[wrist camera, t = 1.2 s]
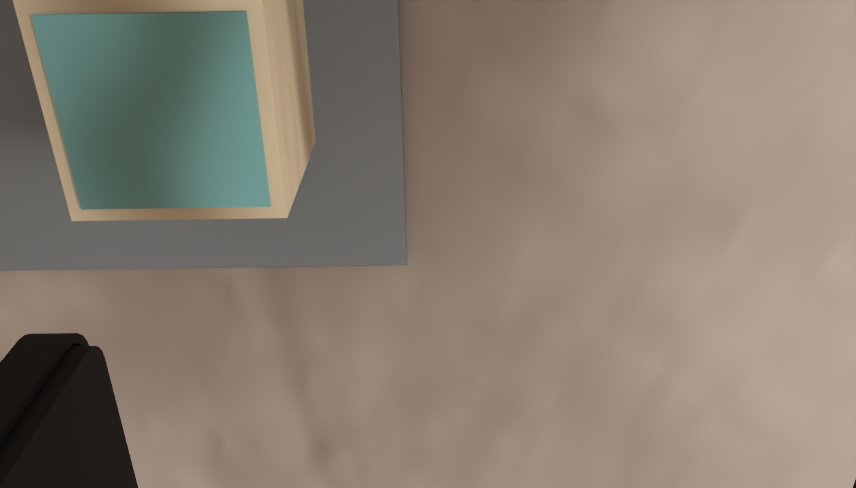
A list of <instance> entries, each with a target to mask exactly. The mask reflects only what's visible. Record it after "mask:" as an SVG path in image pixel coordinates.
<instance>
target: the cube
mask: <svg viewBox="0 0 856 488" xmlns="http://www.w3.org/2000/svg"><path fill="white" fill-rule="evenodd" d="M13 3H14V7H15V11H16V15H17V18H18V22H19V26H20V30H21V33H22V37H23V41H24V45H25V48H26V52H27V56H28V60H29V63H30V67H31V71H32V75H33V78H34V82H35V86H36V90H37V93H38V97H39V101H40V104H41V108H42V112H43V116H44V119H45V123H46V127H47V131H48V134H49V138H50V142H51V146H52V149H53V153H54V157H55V161H56V164H57V168H58V172H59V176H60V179H61V183H62V187H63V191H64V194H65V198H66V202H67V205H68V209H69V213H70V217H71V220H72V221H115V220H186V219H257V218H287V217H288V215H289V212H290V209H291V207H292V204H293V201H294V199H295V196H296V193H297V191H298V188H299V185H300V183H301V180H302V177H303V175H304V172H305V169H306V166H307V164H308V161H309V158H310V156H311V153H312V150H313V148H314V145H315V142H316V137H315V126H314V115H313V104H312V93H311V82H310V71H309V61H308V50H307V39H306V28H305V17H304V6H303V0H13Z"/></svg>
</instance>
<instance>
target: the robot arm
mask: <svg viewBox="0 0 856 488" xmlns="http://www.w3.org/2000/svg"><path fill="white" fill-rule="evenodd" d="M0 488H138V485H137V482H136V478H135V474H134V470H133V466H132V462H131V458H130V454H129V450H128V447H127V443H126V439H125V435H124V431H123V427H122V423H121V419H120V415H119V411H118V408H117V404H116V400H115V396H114V392H113V388H112V384H111V380H110V376H109V372H108V369H107V365H106V361H105V357H104V354H103V352H102V350H101V349H100V348H99V347H97V346H89V345H88V342H87V340H86V339H85V338H84V336H83V335H80V334H78V333H62V334H28V335H24V336H23V337H22V338H21V339H19V340H18V341H17V343H16V344H15V345H14V346H13V348H12V349H11V350H10V351H9V352H8V354H7V355H6V356H5V357H4V359H3V360H2V361H1V362H0ZM853 488H856V480H855V483H854V486H853Z"/></svg>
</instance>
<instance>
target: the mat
mask: <svg viewBox="0 0 856 488" xmlns="http://www.w3.org/2000/svg"><path fill="white" fill-rule="evenodd" d="M303 6H304V17H305V28H306V39H307V50H308V61H309V71H310V82H311V93H312V104H313V115H314V126H315V137H316V142H315V145H314V148H313V150H312V153H311V156H310V158H309V161H308V164H307V166H306V169H305V172H304V175H303V177H302V180H301V183H300V185H299V188H298V191H297V193H296V196H295V199H294V201H293V204H292V207H291V209H290V212H289V215H288V217H287V218H257V219H186V220H115V221H72V220H71V217H70V213H69V209H68V205H67V202H66V198H65V194H64V191H63V187H62V183H61V179H60V176H59V172H58V168H57V164H56V161H55V157H54V153H53V149H52V146H51V142H50V138H49V134H48V131H47V127H46V123H45V119H44V116H43V112H42V108H41V104H40V101H39V97H38V93H37V90H36V86H35V82H34V78H33V75H32V71H31V67H30V63H29V60H28V56H27V52H26V48H25V45H24V41H23V37H22V33H21V30H20V26H19V22H18V18H17V15H16V11H15V7H14V3H13V0H0V271H11V270H85V269H159V268H234V267H308V266H382V265H407V244H406V215H405V186H404V157H403V127H402V98H401V69H400V40H399V11H398V0H303Z"/></svg>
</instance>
